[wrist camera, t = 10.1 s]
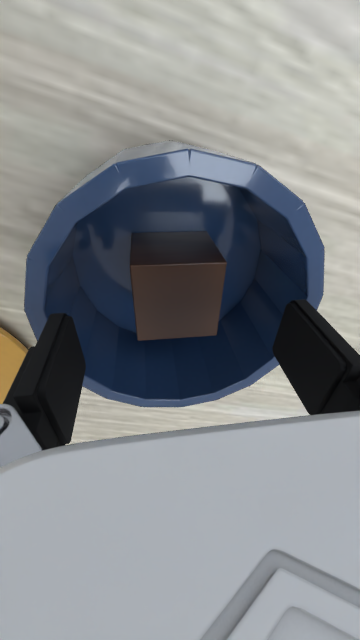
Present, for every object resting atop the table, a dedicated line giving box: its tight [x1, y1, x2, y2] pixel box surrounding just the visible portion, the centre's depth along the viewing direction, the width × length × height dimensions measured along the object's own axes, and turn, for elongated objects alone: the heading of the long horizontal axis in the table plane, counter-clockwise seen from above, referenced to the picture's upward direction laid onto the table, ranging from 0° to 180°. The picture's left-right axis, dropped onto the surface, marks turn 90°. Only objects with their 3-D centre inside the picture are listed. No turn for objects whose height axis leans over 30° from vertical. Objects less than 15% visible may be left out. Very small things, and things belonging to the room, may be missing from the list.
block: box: [130, 231, 227, 341], centre depth 15 cm, size 5×5×5 cm
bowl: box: [24, 140, 324, 407], centre depth 15 cm, size 14×14×6 cm
